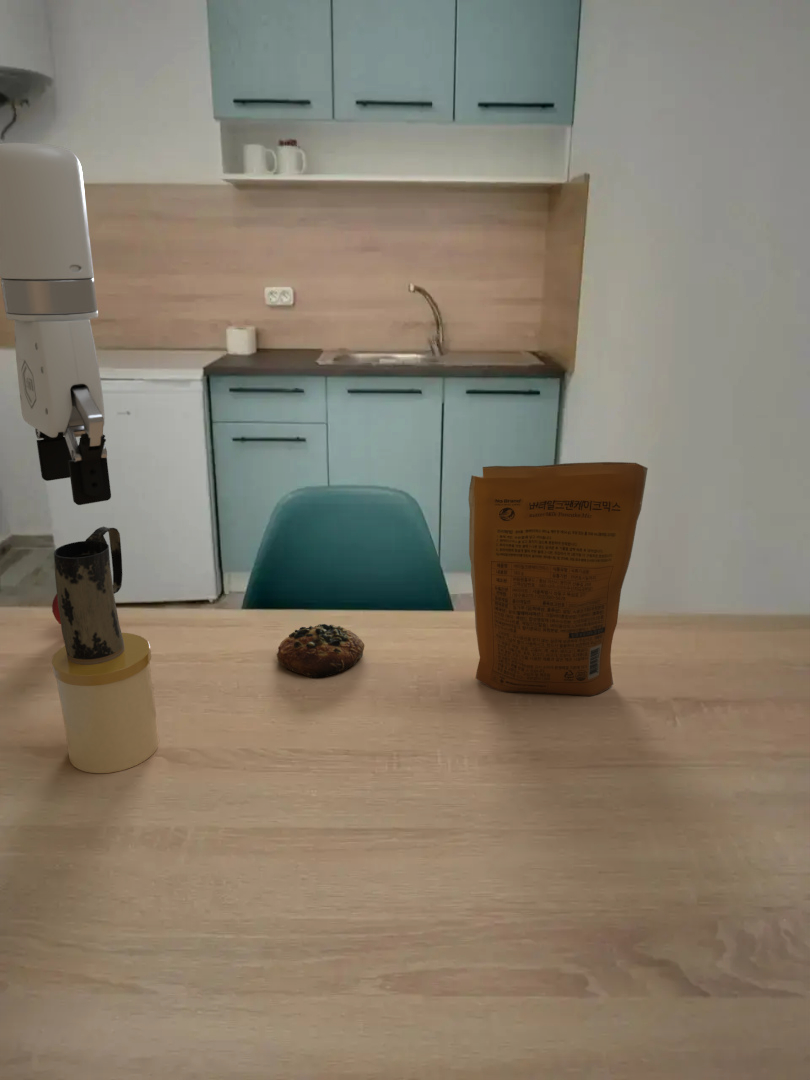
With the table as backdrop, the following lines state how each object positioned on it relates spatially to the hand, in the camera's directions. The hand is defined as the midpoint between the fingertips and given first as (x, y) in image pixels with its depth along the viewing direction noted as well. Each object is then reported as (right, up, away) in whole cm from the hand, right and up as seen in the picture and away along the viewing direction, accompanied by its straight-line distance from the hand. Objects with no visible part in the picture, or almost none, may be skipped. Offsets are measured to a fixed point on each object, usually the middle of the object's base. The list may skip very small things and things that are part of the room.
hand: (75, 489), depth 78 cm
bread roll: (+20, -20, +28) cm, 40 cm away
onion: (-14, -18, +36) cm, 42 cm away
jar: (+1, -27, +9) cm, 28 cm away
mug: (0, -16, +7) cm, 17 cm away
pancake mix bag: (+48, -23, +21) cm, 57 cm away
